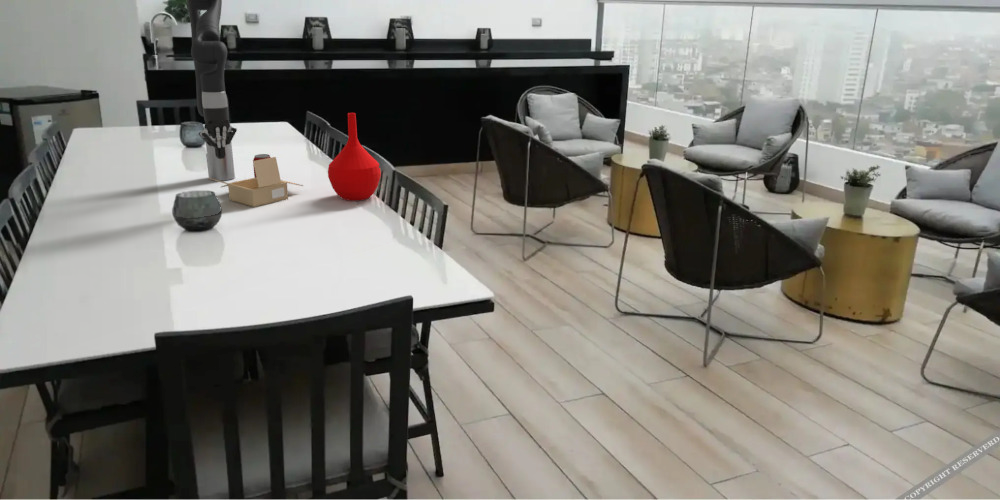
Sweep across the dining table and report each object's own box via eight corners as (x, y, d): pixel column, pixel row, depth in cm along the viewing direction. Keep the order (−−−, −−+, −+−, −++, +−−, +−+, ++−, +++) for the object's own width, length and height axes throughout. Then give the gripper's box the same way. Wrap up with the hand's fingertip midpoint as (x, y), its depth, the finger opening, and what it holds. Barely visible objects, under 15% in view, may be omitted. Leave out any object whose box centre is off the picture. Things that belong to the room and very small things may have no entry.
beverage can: (268, 190, 270) (266, 157, 266) (252, 188, 271) (248, 156, 268) (277, 185, 276) (275, 154, 273) (261, 184, 278) (258, 153, 274)
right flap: (231, 184, 252) (230, 185, 252) (208, 177, 245) (208, 178, 245) (247, 188, 247) (246, 189, 247) (224, 182, 240) (224, 182, 240)
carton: (214, 196, 261) (213, 179, 259) (268, 184, 278) (267, 168, 277) (254, 207, 248) (252, 190, 246) (308, 194, 266) (307, 178, 264)
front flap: (252, 161, 246) (253, 161, 246) (275, 156, 253) (275, 156, 253) (258, 187, 248) (259, 187, 248) (280, 182, 255) (281, 182, 255)
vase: (390, 193, 268) (387, 111, 258) (365, 206, 252) (362, 119, 242) (346, 189, 274) (342, 108, 264) (319, 201, 257) (313, 115, 248)
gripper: (226, 102, 244) (231, 153, 250) (189, 106, 234) (196, 159, 240) (240, 104, 239) (245, 156, 245) (203, 109, 229) (209, 163, 235)
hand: (220, 158), depth 242 cm, fingers closed
